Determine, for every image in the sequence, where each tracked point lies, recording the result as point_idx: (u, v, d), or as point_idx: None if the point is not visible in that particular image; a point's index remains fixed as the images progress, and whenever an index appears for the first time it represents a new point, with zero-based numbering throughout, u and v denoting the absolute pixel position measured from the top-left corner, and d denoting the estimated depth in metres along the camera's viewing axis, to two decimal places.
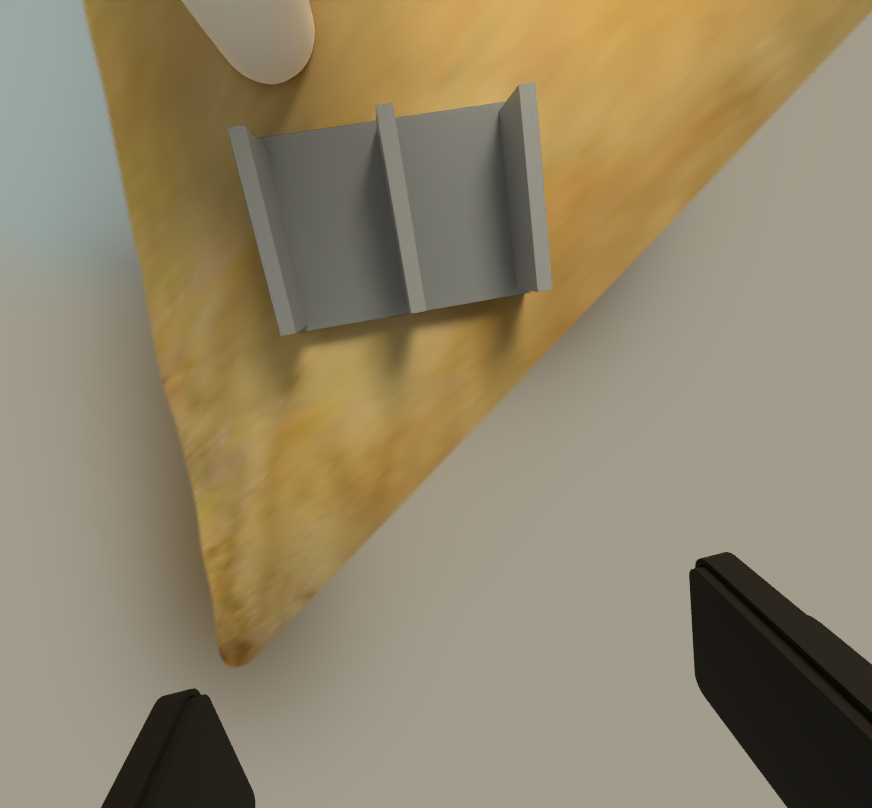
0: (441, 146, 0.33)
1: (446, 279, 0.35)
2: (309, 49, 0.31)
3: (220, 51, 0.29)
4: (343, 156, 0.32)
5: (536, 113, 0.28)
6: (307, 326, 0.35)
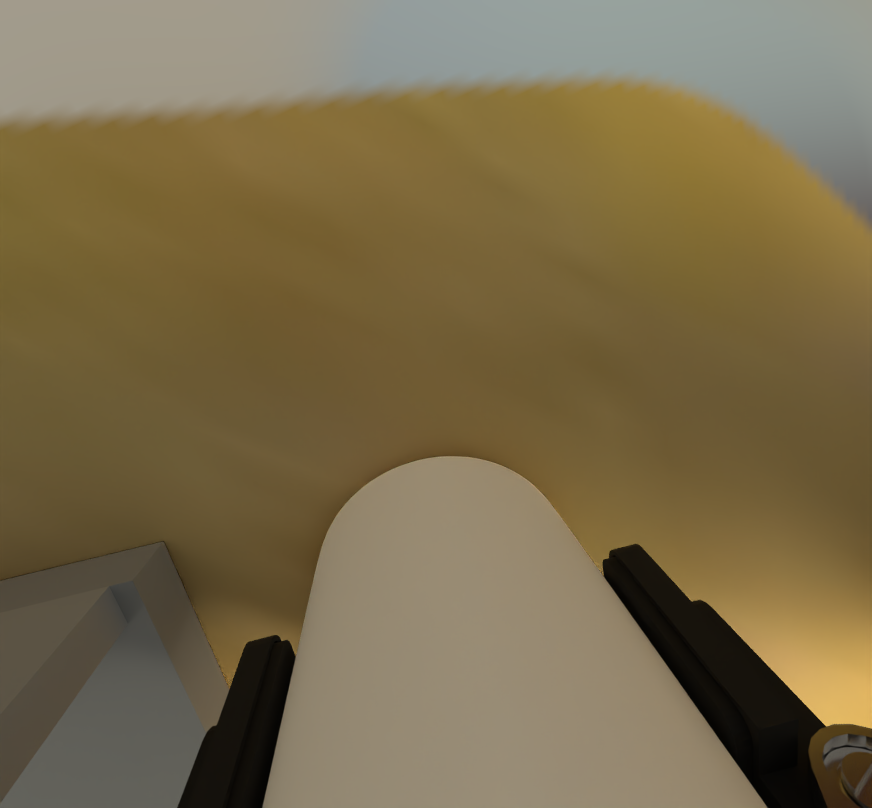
0: None
1: None
2: None
3: (338, 555, 0.09)
4: (153, 795, 0.12)
5: None
6: None
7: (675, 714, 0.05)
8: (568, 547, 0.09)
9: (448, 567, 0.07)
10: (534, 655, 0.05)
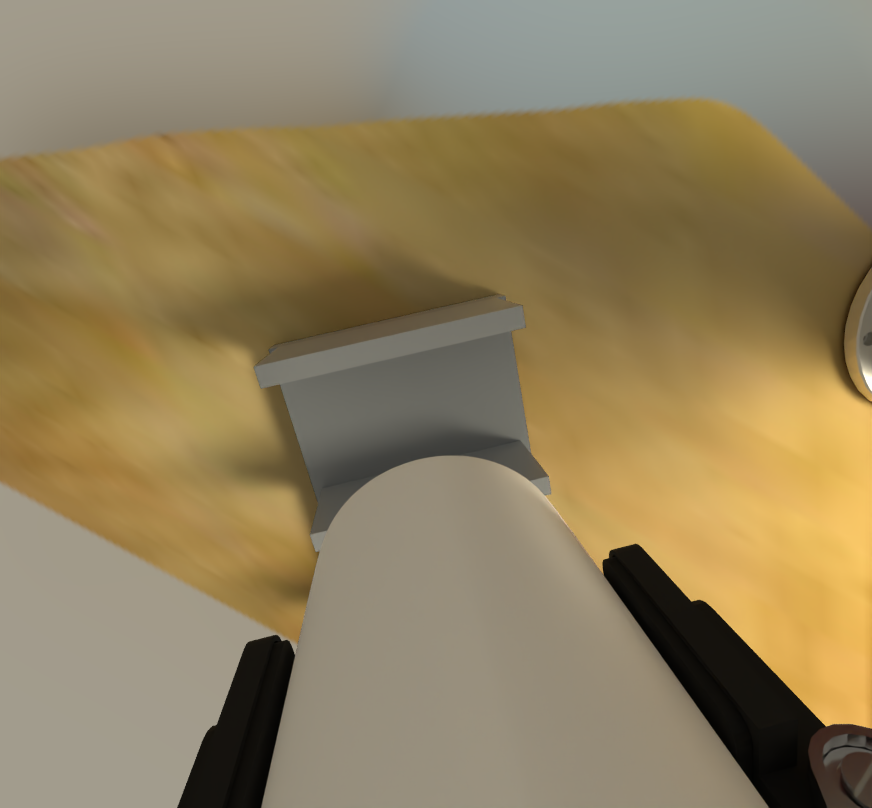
0: None
1: None
2: None
3: (338, 554, 0.09)
4: (491, 405, 0.27)
5: None
6: None
7: (676, 714, 0.05)
8: (568, 547, 0.08)
9: (447, 566, 0.07)
10: (535, 655, 0.05)
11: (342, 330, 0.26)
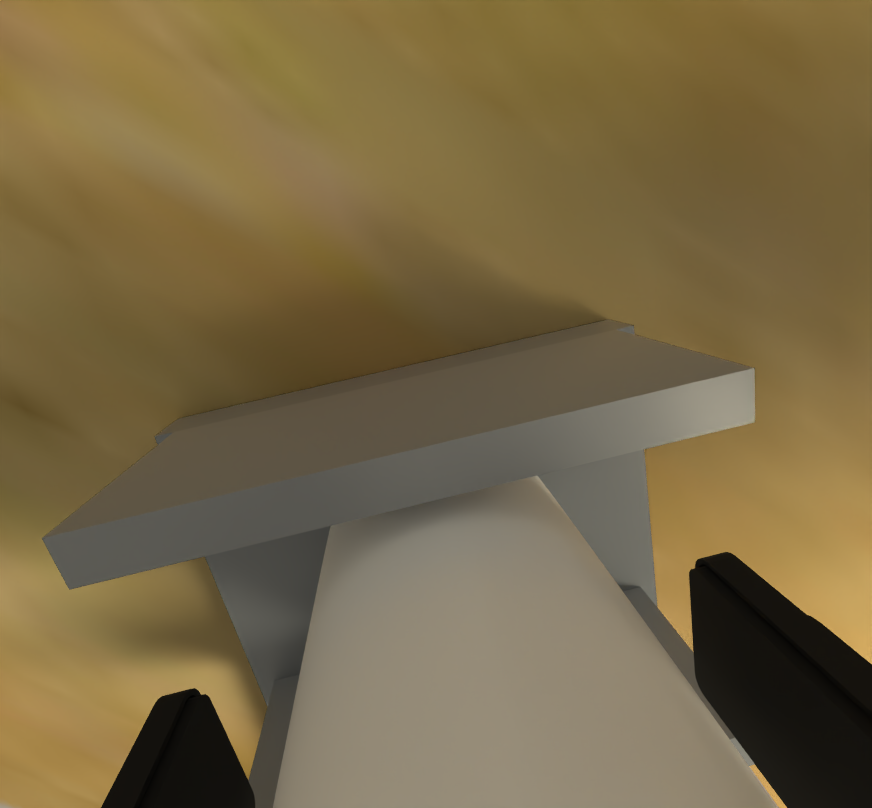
0: None
1: None
2: None
3: None
4: (592, 529, 0.15)
5: None
6: None
7: (622, 621, 0.07)
8: (547, 506, 0.10)
9: (442, 518, 0.09)
10: (510, 577, 0.07)
11: (309, 392, 0.13)
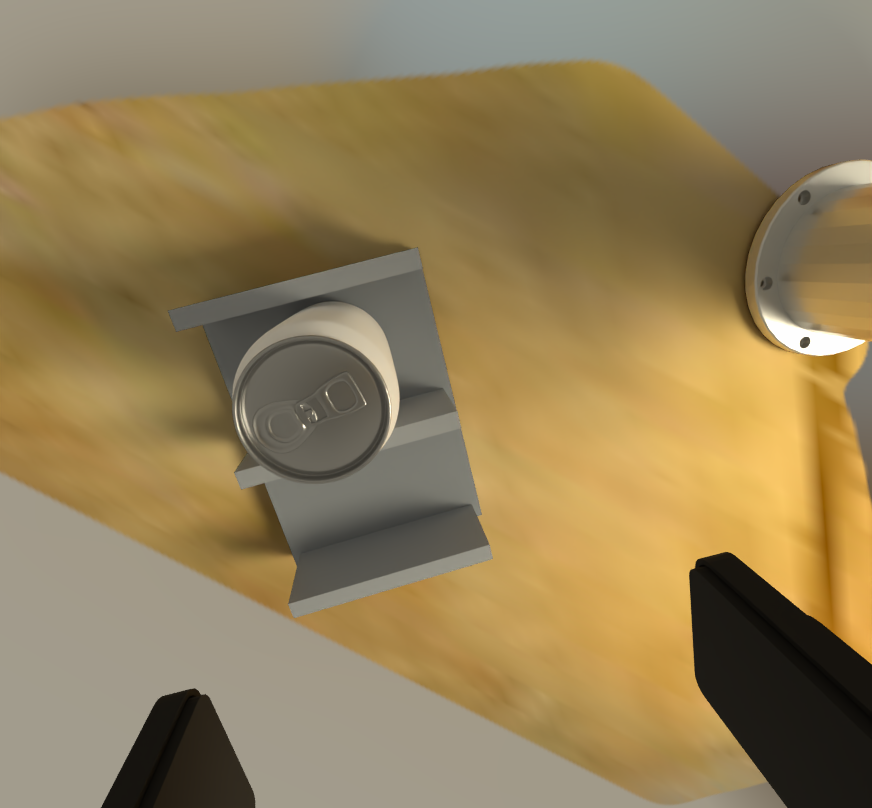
0: (433, 454, 0.31)
1: None
2: None
3: None
4: (412, 355, 0.29)
5: (466, 565, 0.28)
6: None
7: (358, 319, 0.21)
8: (360, 313, 0.24)
9: (311, 308, 0.23)
10: (324, 309, 0.21)
11: None
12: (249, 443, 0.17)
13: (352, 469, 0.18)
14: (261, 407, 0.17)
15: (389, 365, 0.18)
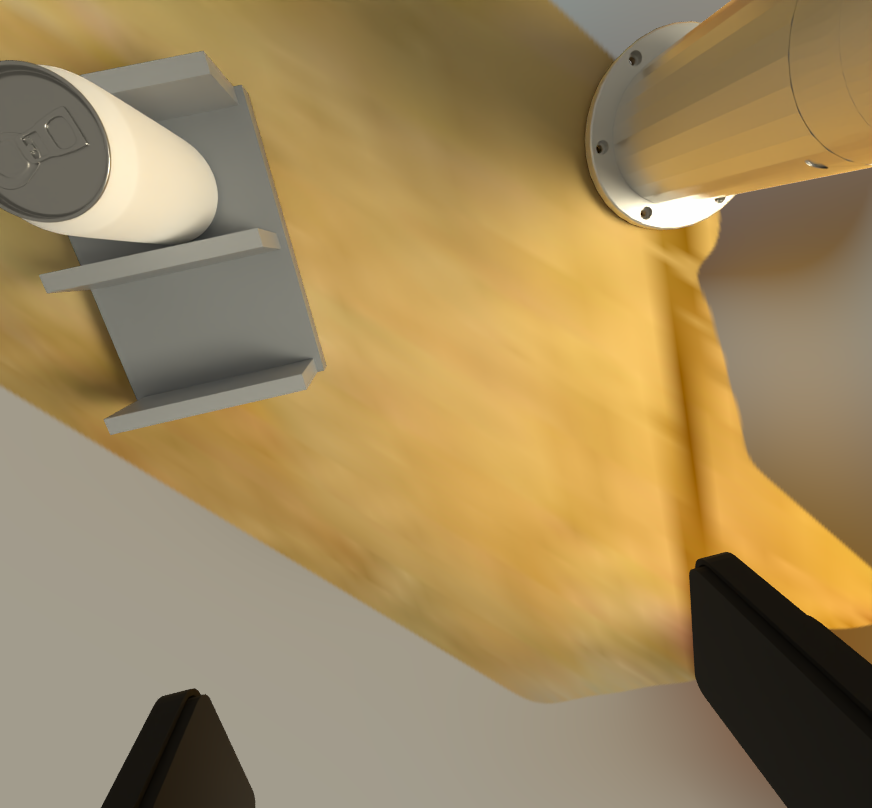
0: (271, 302, 0.32)
1: (135, 317, 0.32)
2: None
3: None
4: (243, 196, 0.30)
5: (280, 394, 0.29)
6: None
7: (130, 106, 0.22)
8: None
9: None
10: None
11: None
12: None
13: (79, 211, 0.19)
14: None
15: (123, 120, 0.20)
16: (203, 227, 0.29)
